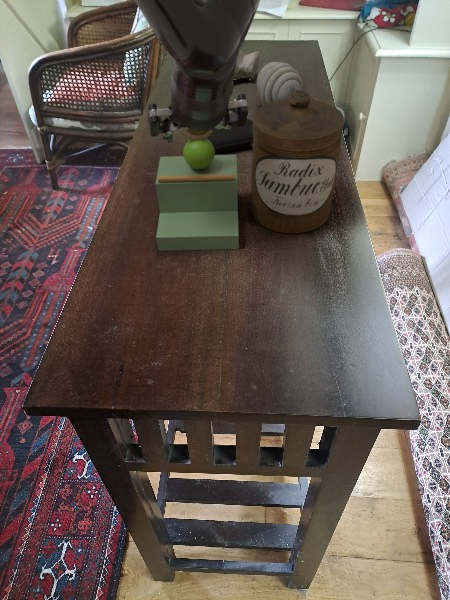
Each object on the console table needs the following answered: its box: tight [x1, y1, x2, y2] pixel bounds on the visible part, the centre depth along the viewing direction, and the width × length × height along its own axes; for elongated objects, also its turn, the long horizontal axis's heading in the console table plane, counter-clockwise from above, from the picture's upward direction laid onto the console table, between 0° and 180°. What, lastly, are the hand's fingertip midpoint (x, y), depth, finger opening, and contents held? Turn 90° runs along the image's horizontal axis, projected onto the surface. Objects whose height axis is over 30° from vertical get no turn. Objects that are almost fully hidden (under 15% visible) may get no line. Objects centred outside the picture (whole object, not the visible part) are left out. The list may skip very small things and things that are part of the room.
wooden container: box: [250, 90, 345, 234], centre depth 79 cm, size 15×15×22 cm
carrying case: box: [206, 118, 253, 155], centre depth 103 cm, size 11×3×15 cm
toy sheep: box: [256, 61, 304, 107], centre depth 111 cm, size 11×17×11 cm, turn 31°
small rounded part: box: [179, 124, 216, 169], centre depth 77 cm, size 5×6×12 cm
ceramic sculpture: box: [233, 49, 261, 82], centre depth 126 cm, size 11×9×15 cm
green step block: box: [155, 154, 240, 252], centre depth 81 cm, size 14×16×10 cm
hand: (195, 133), depth 73 cm, fingers open, 8 cm apart
